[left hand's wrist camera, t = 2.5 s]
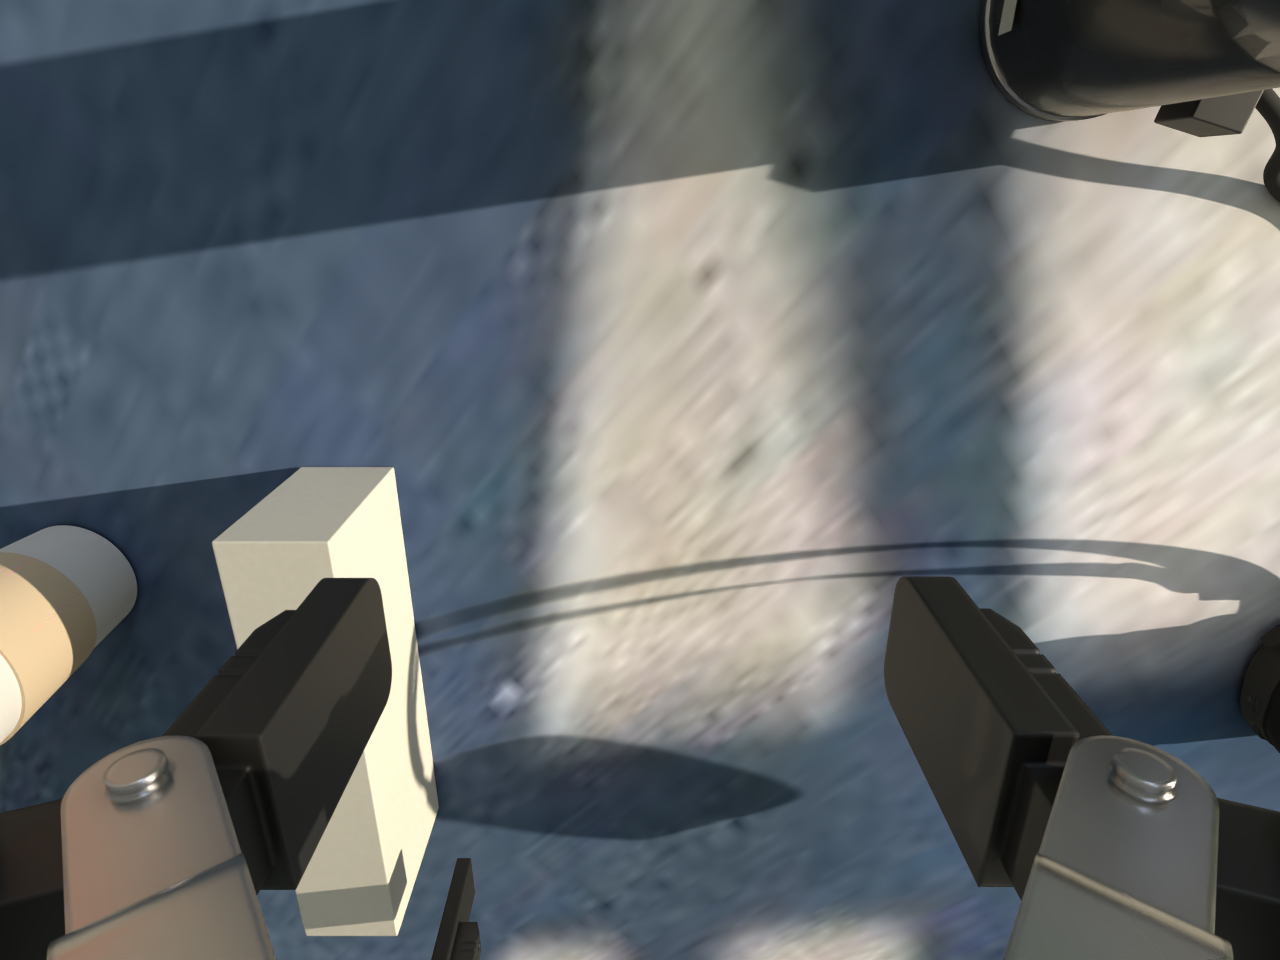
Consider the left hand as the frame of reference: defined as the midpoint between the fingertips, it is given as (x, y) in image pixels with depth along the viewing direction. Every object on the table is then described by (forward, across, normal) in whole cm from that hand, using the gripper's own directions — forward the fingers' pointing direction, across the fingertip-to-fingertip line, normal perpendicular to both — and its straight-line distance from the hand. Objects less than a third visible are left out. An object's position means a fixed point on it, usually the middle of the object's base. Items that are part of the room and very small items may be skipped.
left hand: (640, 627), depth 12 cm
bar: (+29, -16, -21) cm, 39 cm away
